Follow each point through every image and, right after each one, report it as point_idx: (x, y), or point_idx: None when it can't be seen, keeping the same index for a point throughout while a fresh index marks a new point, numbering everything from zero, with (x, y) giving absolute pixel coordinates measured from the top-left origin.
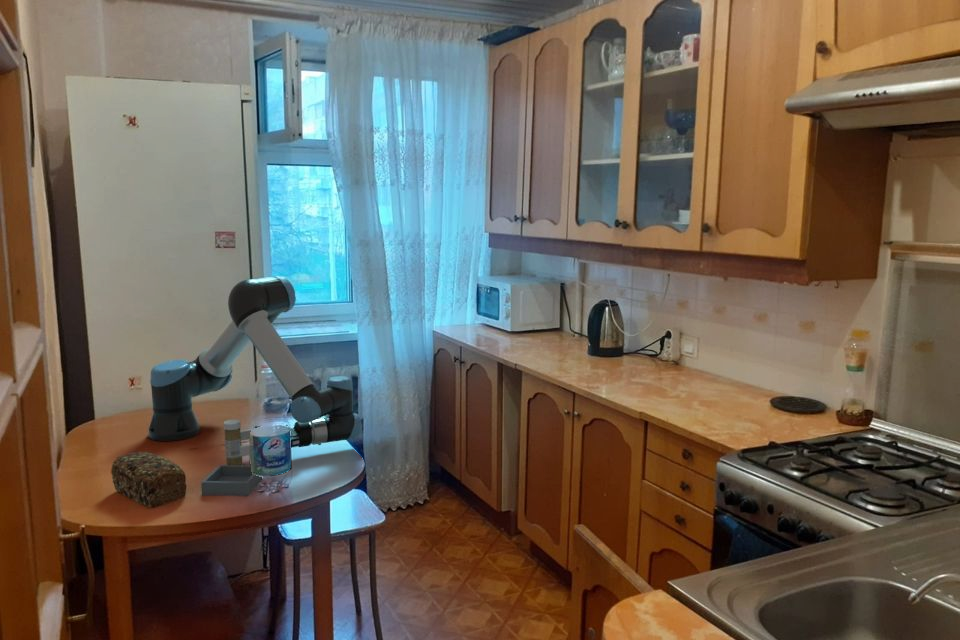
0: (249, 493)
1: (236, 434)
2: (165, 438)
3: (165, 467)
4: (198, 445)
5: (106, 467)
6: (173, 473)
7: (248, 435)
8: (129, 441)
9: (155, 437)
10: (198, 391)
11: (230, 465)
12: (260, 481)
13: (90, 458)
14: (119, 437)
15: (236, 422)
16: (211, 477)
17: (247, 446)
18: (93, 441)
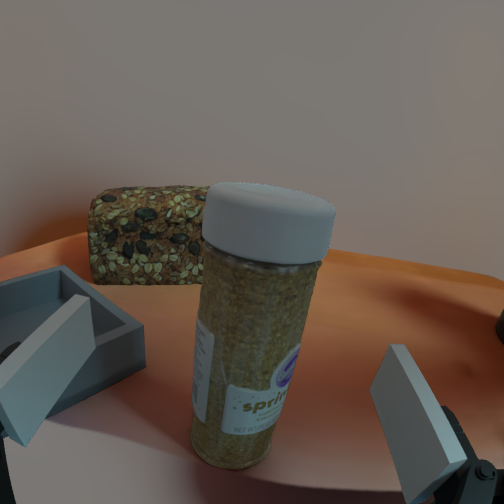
0: None
1: (203, 278)
2: (500, 327)
3: (106, 191)
4: (488, 377)
5: (362, 271)
6: (92, 208)
7: (410, 452)
8: (485, 304)
9: (499, 317)
10: None
11: (103, 342)
12: None
13: (408, 271)
14: (497, 300)
15: (226, 188)
16: (79, 291)
17: (52, 318)
18: (476, 283)
